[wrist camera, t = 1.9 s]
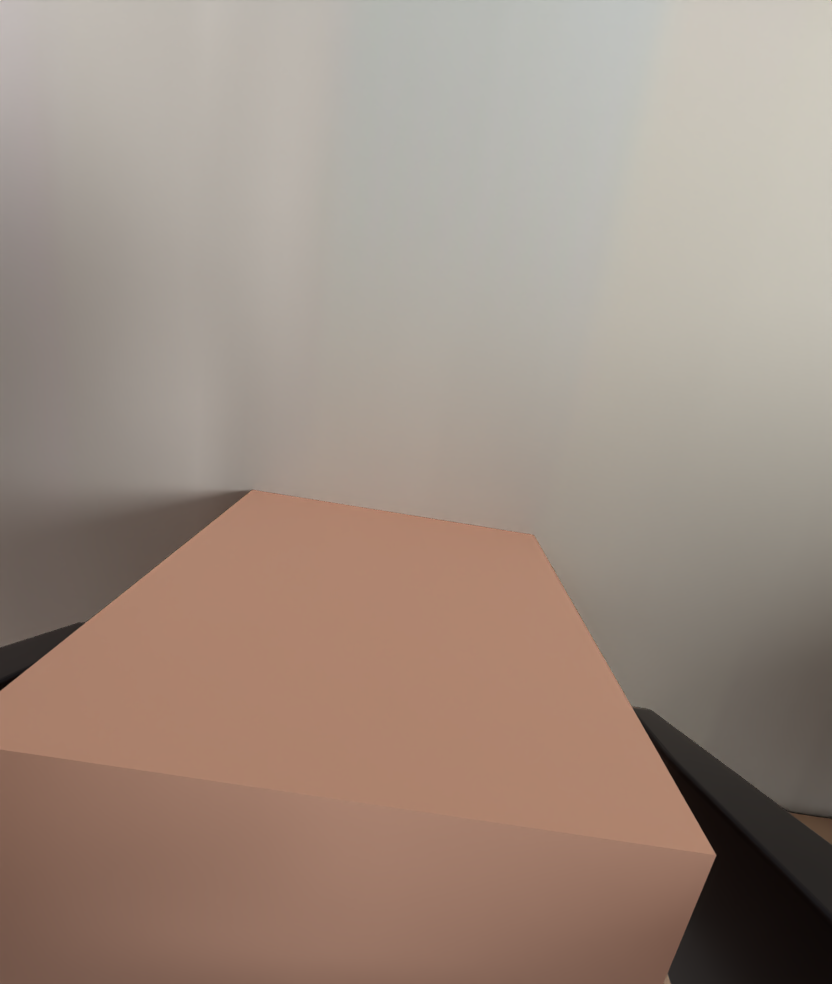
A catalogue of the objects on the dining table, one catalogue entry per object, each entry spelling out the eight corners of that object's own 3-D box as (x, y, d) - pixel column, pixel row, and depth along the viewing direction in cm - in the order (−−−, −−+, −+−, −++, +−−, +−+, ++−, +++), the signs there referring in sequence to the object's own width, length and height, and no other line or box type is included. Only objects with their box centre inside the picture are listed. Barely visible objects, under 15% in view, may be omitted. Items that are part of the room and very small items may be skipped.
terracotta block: (533, 534, 9) (717, 855, 3) (479, 762, 10) (543, 1274, 5) (252, 489, 9) (-61, 740, 3) (234, 726, 10) (-10, 1202, 5)
